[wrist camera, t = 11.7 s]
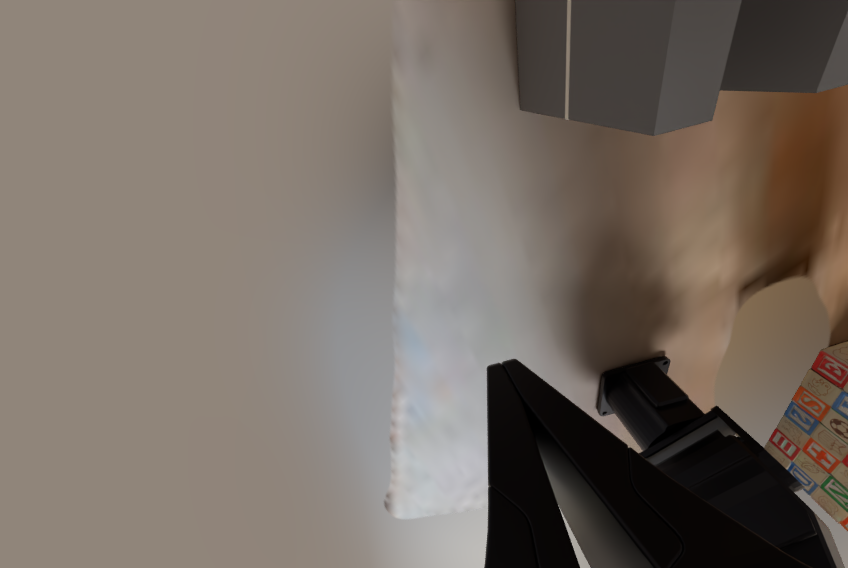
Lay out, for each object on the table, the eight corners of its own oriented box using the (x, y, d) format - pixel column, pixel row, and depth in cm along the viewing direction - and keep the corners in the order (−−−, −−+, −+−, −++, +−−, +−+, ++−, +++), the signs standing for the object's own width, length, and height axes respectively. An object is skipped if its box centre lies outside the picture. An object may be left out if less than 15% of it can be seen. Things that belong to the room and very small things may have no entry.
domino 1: (552, 102, 18) (712, 121, 10) (520, 110, 18) (653, 136, 10) (552, -23, 15) (779, -151, 7) (514, -14, 15) (695, -129, 7)
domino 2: (638, 79, 18) (874, 78, 10) (607, 87, 18) (815, 93, 10) (655, -50, 15) (1006, -209, 7) (617, -40, 15) (923, -188, 7)
